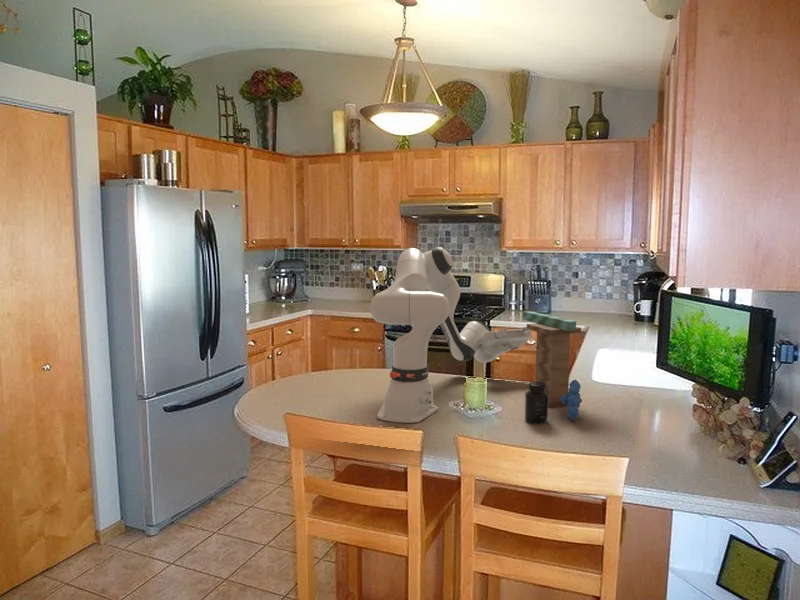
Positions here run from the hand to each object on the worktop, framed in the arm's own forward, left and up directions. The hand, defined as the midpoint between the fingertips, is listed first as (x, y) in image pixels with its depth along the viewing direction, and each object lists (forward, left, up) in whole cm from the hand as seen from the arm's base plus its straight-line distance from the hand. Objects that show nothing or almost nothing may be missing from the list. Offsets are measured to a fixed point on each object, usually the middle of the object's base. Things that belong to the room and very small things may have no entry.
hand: (516, 329), depth 223 cm
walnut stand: (-17, -15, -21) cm, 31 cm away
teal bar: (-15, -13, +5) cm, 20 cm away
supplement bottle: (-41, -12, -21) cm, 48 cm away
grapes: (-35, -22, -21) cm, 47 cm away
